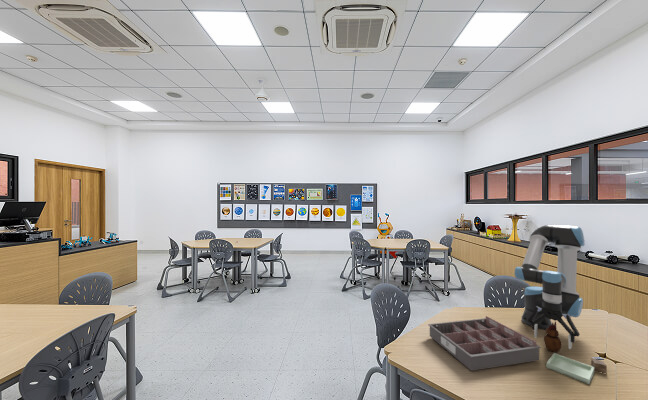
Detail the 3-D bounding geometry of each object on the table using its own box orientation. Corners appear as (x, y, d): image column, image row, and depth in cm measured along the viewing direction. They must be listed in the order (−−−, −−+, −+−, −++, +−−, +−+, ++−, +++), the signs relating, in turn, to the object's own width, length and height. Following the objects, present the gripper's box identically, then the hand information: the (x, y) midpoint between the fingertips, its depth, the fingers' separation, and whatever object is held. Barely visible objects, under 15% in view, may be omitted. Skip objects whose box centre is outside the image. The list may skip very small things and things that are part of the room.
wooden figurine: (557, 348, 135) (557, 320, 135) (563, 354, 129) (563, 325, 129) (541, 346, 137) (541, 318, 137) (547, 352, 131) (547, 322, 132)
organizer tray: (427, 338, 145) (427, 320, 145) (486, 331, 153) (486, 314, 153) (470, 374, 114) (470, 352, 114) (542, 363, 122) (541, 342, 122)
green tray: (546, 367, 119) (546, 363, 119) (554, 356, 127) (554, 352, 127) (589, 384, 108) (589, 379, 108) (594, 371, 116) (594, 367, 116)
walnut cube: (594, 371, 116) (594, 362, 116) (591, 366, 120) (591, 358, 120) (606, 374, 114) (606, 365, 114) (603, 369, 118) (603, 361, 118)
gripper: (520, 295, 141) (520, 334, 141) (584, 311, 121) (584, 356, 121) (525, 293, 146) (525, 330, 145) (587, 307, 126) (587, 350, 125)
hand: (552, 342), depth 133 cm, fingers open, 13 cm apart
